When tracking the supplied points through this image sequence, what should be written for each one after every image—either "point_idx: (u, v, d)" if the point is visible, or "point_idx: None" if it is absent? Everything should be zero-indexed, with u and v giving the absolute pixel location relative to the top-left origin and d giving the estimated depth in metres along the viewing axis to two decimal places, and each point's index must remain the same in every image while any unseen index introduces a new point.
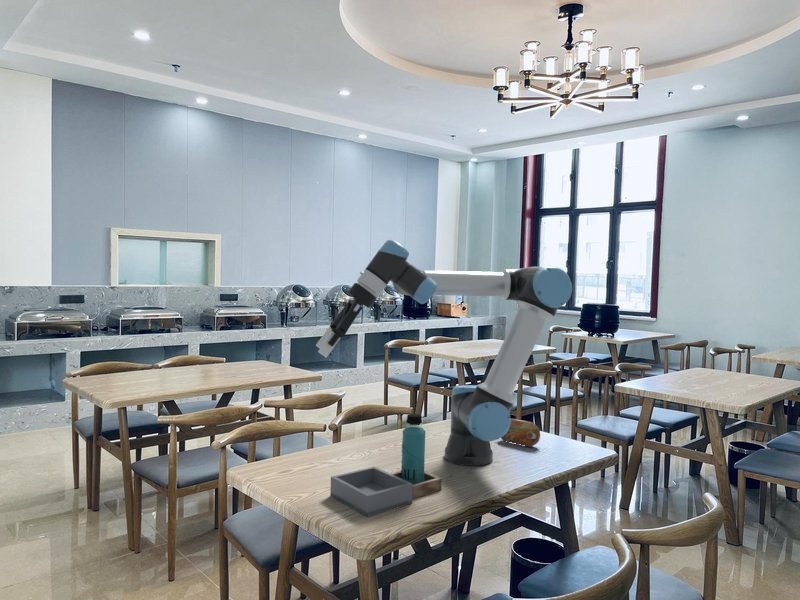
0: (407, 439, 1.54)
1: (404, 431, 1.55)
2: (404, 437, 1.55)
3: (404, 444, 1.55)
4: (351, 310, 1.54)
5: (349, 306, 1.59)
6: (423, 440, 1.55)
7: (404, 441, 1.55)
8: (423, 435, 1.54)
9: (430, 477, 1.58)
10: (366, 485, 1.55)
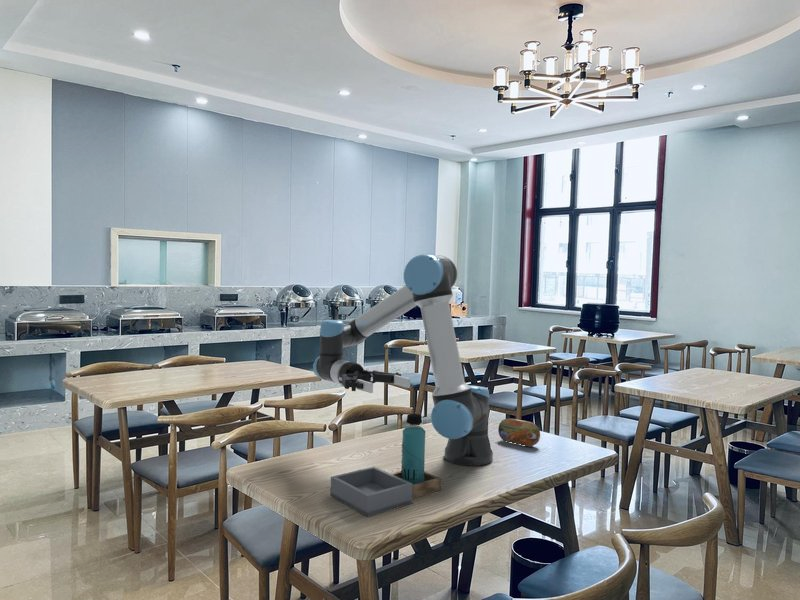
0: (407, 439, 1.54)
1: (404, 431, 1.55)
2: (404, 437, 1.55)
3: (404, 444, 1.55)
4: (341, 382, 1.70)
5: None
6: (423, 440, 1.55)
7: (404, 441, 1.55)
8: (423, 435, 1.54)
9: (430, 477, 1.58)
10: (366, 485, 1.55)
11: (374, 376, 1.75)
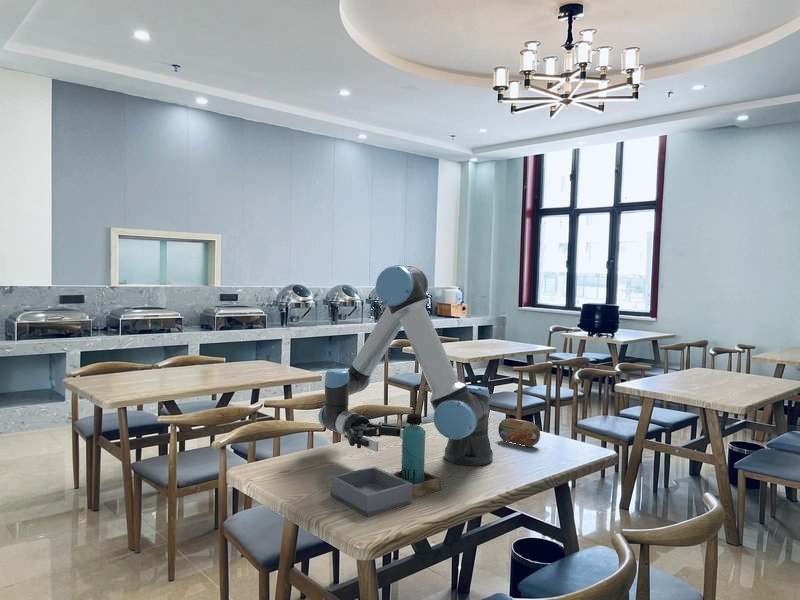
0: (407, 439, 1.54)
1: (404, 431, 1.55)
2: (404, 437, 1.55)
3: (404, 444, 1.55)
4: (347, 437, 1.67)
5: None
6: (423, 440, 1.55)
7: (404, 441, 1.55)
8: (423, 435, 1.54)
9: (430, 477, 1.58)
10: (366, 485, 1.55)
11: (380, 429, 1.72)
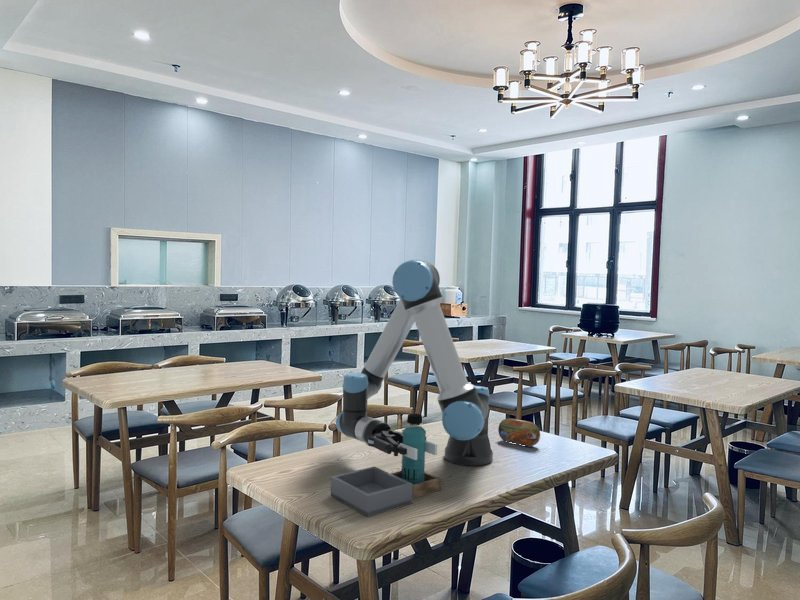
0: (407, 439, 1.54)
1: (404, 431, 1.55)
2: (404, 437, 1.55)
3: None
4: (374, 445, 1.60)
5: None
6: (423, 440, 1.55)
7: (404, 441, 1.55)
8: (423, 435, 1.54)
9: (430, 477, 1.58)
10: (366, 485, 1.55)
11: (399, 437, 1.64)
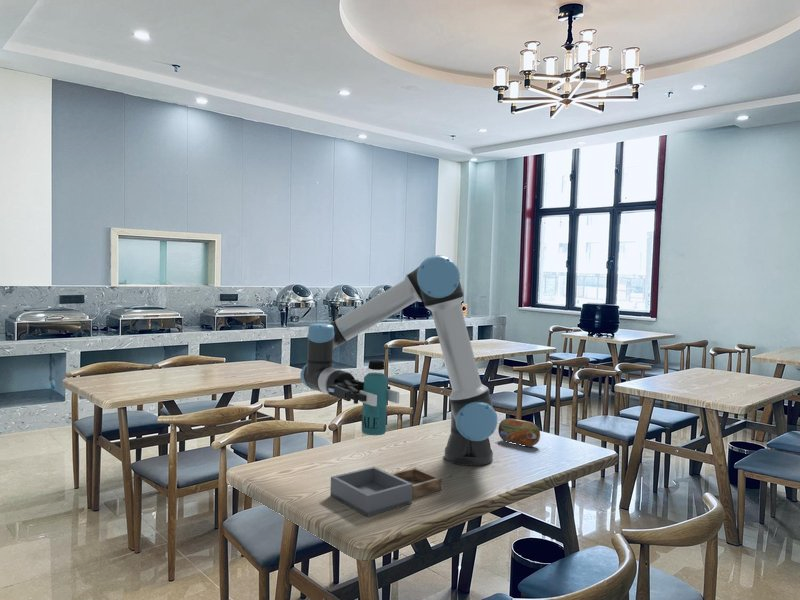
0: (368, 385, 1.46)
1: (365, 377, 1.47)
2: (365, 383, 1.46)
3: None
4: (334, 394, 1.52)
5: None
6: (385, 387, 1.46)
7: (365, 388, 1.46)
8: (385, 381, 1.46)
9: (430, 477, 1.58)
10: (366, 485, 1.55)
11: (362, 387, 1.55)
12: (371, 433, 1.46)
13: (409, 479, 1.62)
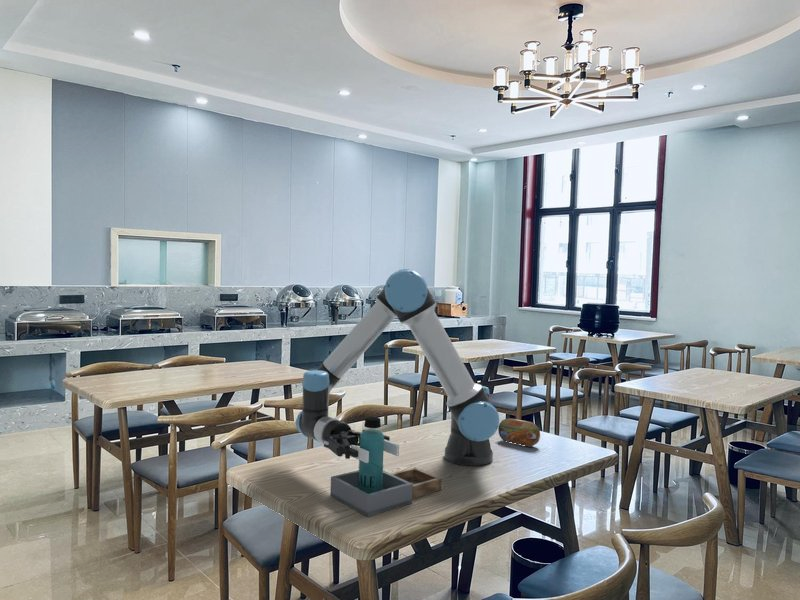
0: (364, 444, 1.45)
1: (361, 435, 1.46)
2: (361, 442, 1.46)
3: None
4: (328, 447, 1.51)
5: None
6: (381, 445, 1.46)
7: (361, 446, 1.46)
8: (381, 439, 1.45)
9: (430, 477, 1.58)
10: None
11: None
12: (368, 492, 1.45)
13: (409, 479, 1.62)
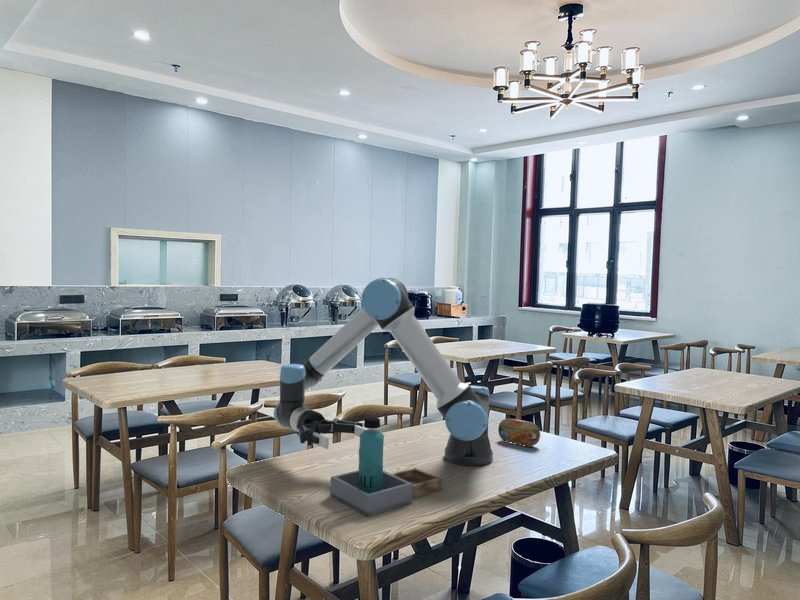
0: (364, 444, 1.45)
1: (361, 435, 1.46)
2: (361, 442, 1.46)
3: (361, 449, 1.46)
4: (299, 434, 1.62)
5: None
6: (381, 445, 1.46)
7: (361, 446, 1.46)
8: (381, 440, 1.45)
9: (430, 477, 1.58)
10: None
11: (334, 426, 1.66)
12: (368, 492, 1.45)
13: (409, 479, 1.62)
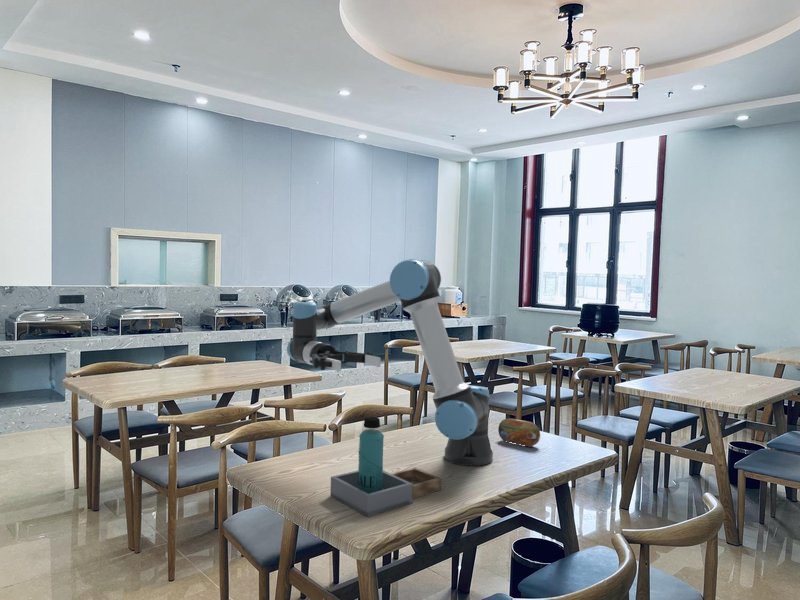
0: (364, 444, 1.45)
1: (361, 435, 1.46)
2: (361, 442, 1.46)
3: (361, 449, 1.46)
4: (312, 362, 1.69)
5: None
6: (381, 445, 1.46)
7: (361, 446, 1.46)
8: (380, 439, 1.45)
9: (430, 477, 1.58)
10: None
11: (345, 356, 1.74)
12: (368, 492, 1.45)
13: (409, 479, 1.62)
